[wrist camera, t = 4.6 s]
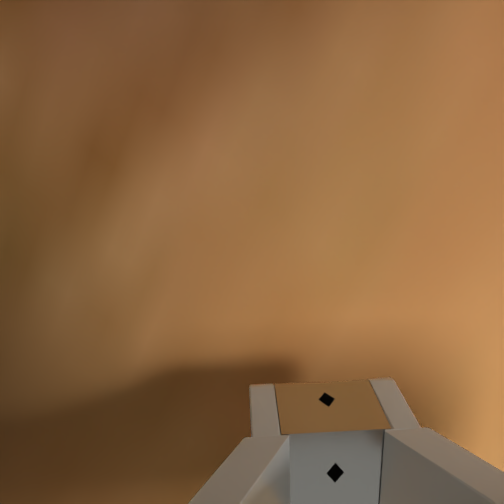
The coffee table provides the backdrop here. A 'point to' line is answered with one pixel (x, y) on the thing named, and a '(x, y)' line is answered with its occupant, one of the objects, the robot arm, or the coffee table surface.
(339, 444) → the robot arm
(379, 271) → the coffee table surface
